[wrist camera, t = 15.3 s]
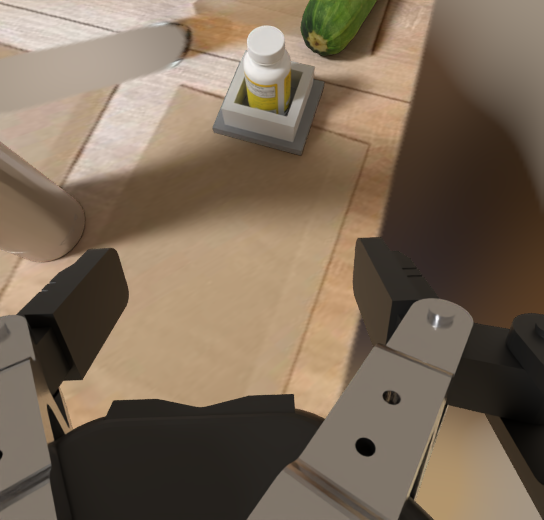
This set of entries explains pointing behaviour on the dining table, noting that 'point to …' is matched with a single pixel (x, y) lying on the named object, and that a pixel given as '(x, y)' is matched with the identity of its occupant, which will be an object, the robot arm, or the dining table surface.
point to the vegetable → (333, 23)
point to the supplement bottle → (268, 70)
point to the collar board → (266, 125)
